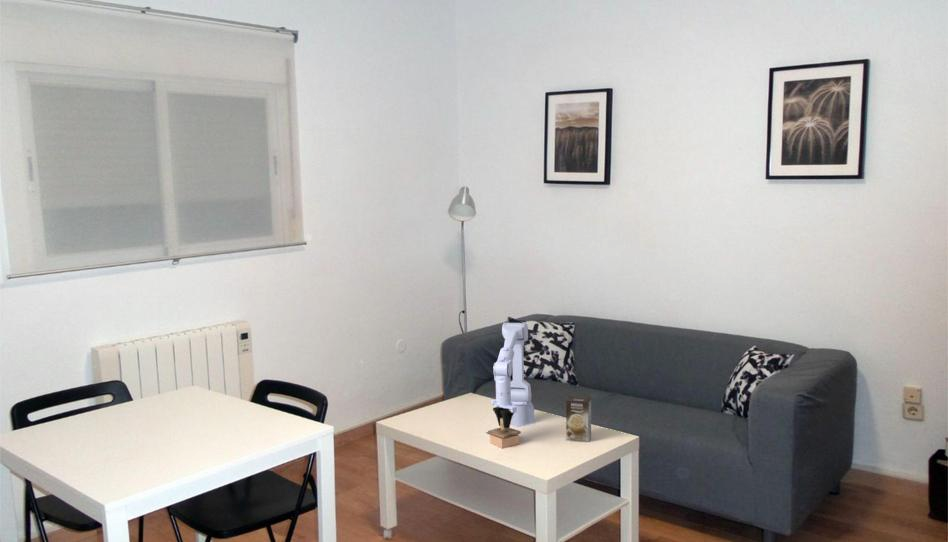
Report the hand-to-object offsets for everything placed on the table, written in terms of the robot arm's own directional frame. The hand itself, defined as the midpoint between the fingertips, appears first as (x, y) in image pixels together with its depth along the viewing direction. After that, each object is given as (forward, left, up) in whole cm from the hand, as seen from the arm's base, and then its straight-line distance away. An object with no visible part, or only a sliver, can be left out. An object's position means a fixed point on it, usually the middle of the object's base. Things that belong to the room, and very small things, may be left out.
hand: (504, 426), depth 296 cm
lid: (0, 0, -3) cm, 3 cm away
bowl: (0, 0, -7) cm, 7 cm away
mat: (-6, -11, -7) cm, 15 cm away
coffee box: (-27, +12, -7) cm, 30 cm away
